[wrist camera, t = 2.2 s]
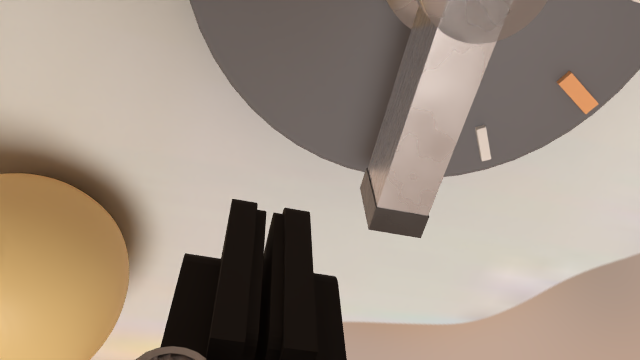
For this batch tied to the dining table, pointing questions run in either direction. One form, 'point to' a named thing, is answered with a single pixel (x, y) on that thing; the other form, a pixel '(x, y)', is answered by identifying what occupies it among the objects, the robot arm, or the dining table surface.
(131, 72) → the dining table surface
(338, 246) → the dining table surface
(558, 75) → the dial plate
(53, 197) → the sculpture
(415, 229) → the dial
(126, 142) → the dining table surface
